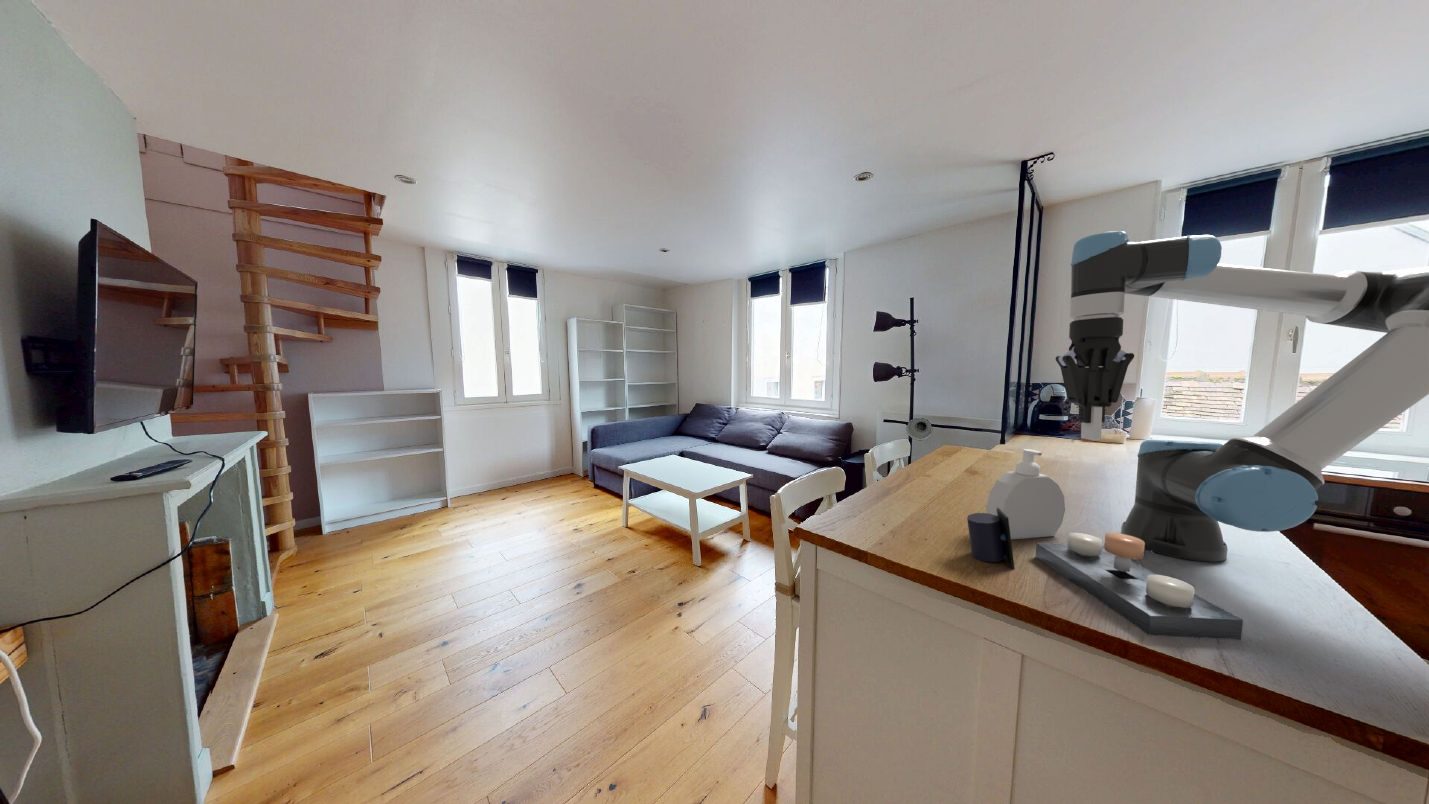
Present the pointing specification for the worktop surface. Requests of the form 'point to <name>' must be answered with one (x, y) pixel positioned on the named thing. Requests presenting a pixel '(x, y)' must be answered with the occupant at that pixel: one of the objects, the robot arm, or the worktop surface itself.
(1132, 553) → the knob middle
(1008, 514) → the soap bottle
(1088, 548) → the knob
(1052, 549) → the mount
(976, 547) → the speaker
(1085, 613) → the worktop surface
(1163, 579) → the knob
